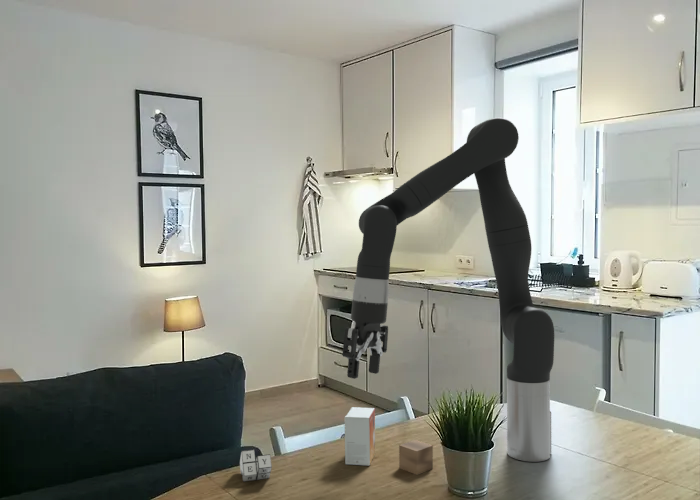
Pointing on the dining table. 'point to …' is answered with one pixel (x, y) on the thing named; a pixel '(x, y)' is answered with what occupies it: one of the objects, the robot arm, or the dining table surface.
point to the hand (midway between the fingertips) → (363, 375)
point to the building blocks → (255, 466)
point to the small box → (359, 436)
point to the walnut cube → (415, 457)
